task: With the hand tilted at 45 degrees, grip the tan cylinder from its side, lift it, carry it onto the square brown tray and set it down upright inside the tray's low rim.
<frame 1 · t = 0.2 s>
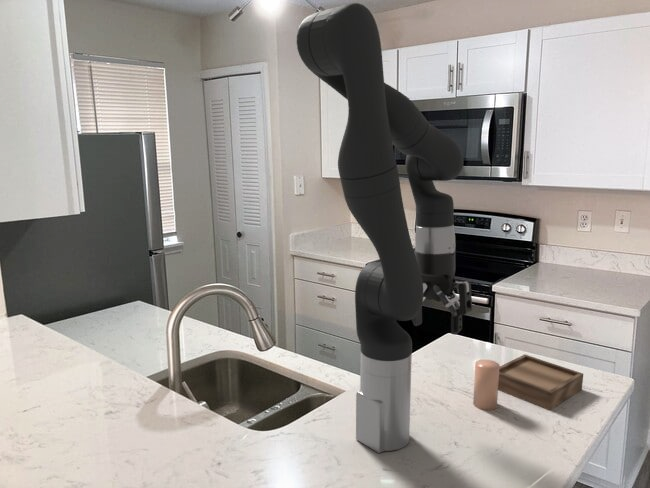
hand: (436, 328, 105), 18 cm above the counter, fingers open, 8 cm apart
tan cylinder: (485, 404, 112), on the counter
square brown tray: (535, 388, 119), on the counter
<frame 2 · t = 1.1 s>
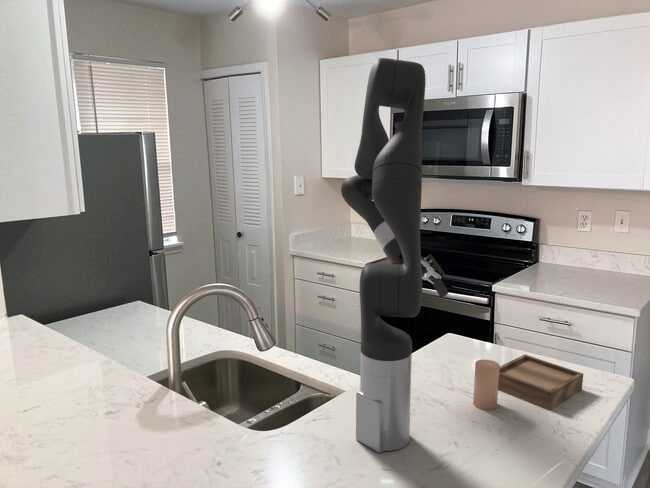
hand: (433, 299, 119), 19 cm above the counter, fingers open, 8 cm apart
nothing on the counter moved.
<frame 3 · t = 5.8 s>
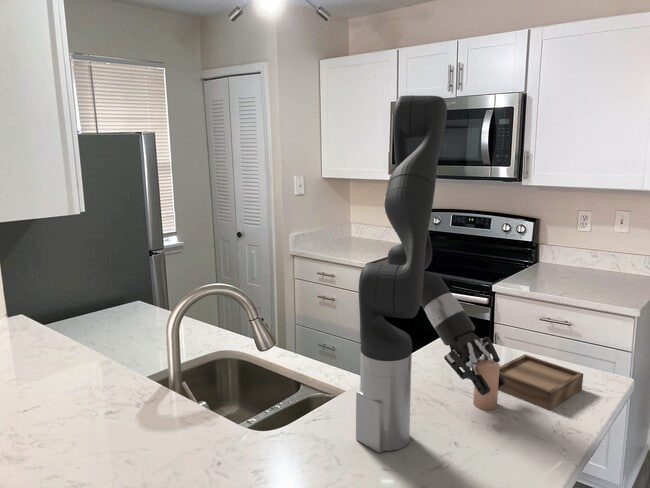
hand: (494, 389, 110), 4 cm above the counter, fingers closed on tan cylinder, 4 cm apart
tan cylinder: (485, 404, 112), on the counter, touching gripper
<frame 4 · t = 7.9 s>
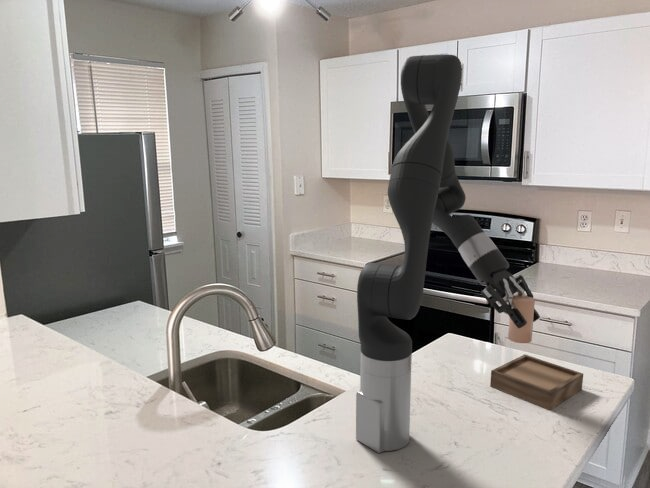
hand: (529, 322, 112), 16 cm above the counter, fingers closed on tan cylinder, 4 cm apart
tan cylinder: (519, 338, 115), point 12 cm above the counter, touching gripper
when the fingers open (9 cm above the counter, at t = 10.5 s): tan cylinder drops 1 cm, resting on square brown tray.
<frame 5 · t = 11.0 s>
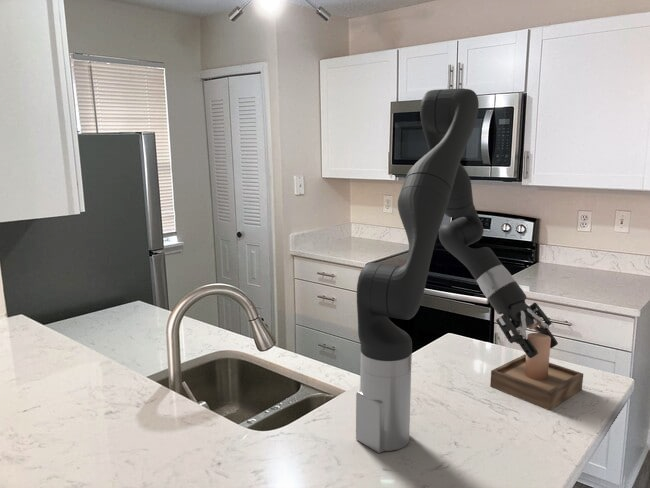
hand: (544, 351, 116), 9 cm above the counter, fingers open, 8 cm apart
tan cylinder: (536, 375, 118), point 3 cm above the counter, touching square brown tray
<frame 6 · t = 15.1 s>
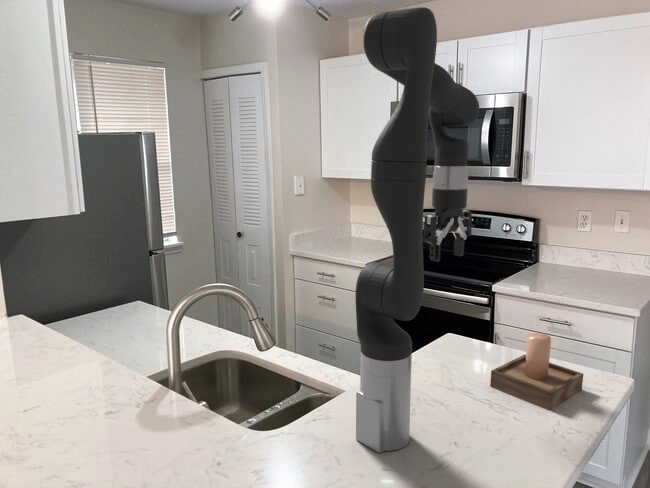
hand: (447, 258, 121), 28 cm above the counter, fingers open, 8 cm apart
nothing on the counter moved.
at the end: tan cylinder inside the target area on the square brown tray (0.1 cm from its centre), point 3.0 cm above the square brown tray's base; tan cylinder tilted 0°; the gripper is holding nothing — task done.
